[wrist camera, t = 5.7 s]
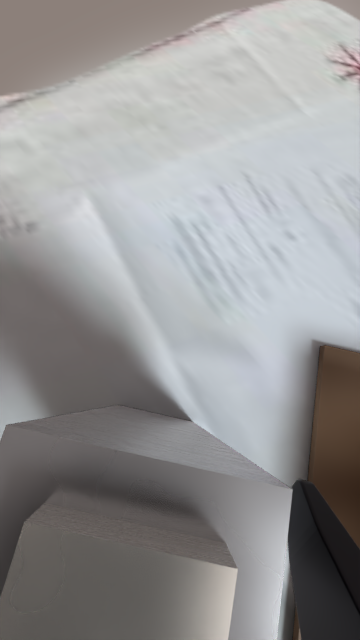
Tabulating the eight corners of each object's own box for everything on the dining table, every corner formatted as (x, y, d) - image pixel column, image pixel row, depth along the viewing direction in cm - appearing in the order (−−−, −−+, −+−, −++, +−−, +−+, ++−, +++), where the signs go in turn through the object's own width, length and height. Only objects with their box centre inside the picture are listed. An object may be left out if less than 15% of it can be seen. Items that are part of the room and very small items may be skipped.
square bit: (176, 505, 15) (268, 1040, 2) (96, 487, 15) (-212, 942, 2) (192, 421, 16) (315, 505, 4) (118, 404, 16) (-20, 429, 3)
